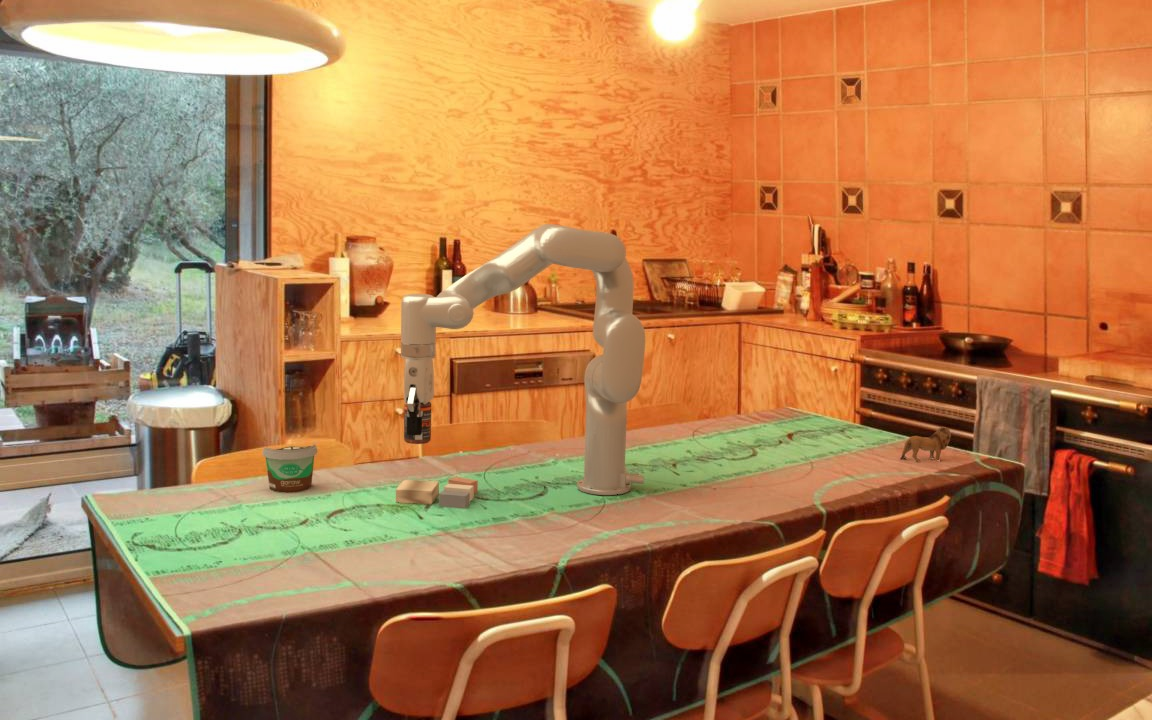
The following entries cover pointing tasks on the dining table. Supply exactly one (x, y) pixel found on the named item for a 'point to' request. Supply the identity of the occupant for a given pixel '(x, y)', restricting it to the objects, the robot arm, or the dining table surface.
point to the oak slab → (417, 491)
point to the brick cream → (461, 489)
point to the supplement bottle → (426, 425)
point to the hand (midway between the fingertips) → (417, 430)
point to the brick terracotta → (464, 482)
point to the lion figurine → (928, 443)
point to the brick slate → (454, 499)
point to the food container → (290, 468)
